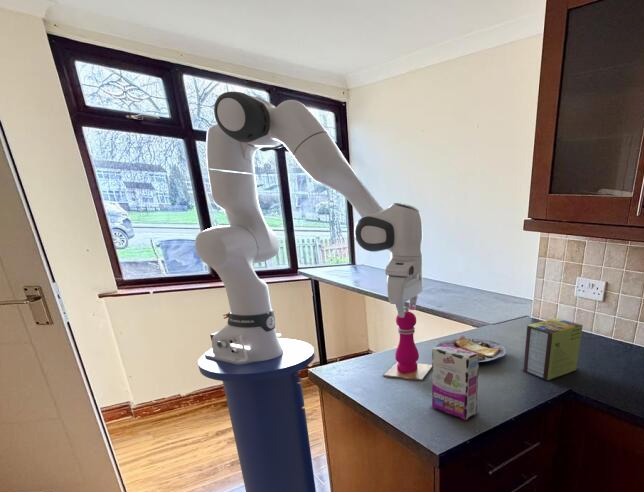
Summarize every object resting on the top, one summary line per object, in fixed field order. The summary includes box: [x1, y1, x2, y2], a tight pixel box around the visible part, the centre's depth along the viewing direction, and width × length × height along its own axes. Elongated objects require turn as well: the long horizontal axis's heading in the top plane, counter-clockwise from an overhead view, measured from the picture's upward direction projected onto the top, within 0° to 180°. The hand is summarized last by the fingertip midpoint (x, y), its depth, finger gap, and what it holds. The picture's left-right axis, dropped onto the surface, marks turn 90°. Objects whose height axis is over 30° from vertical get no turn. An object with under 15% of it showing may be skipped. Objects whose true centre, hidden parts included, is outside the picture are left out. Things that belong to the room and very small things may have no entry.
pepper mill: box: [394, 306, 420, 373], centre depth 123 cm, size 7×7×20 cm
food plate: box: [435, 335, 507, 363], centre depth 142 cm, size 25×23×4 cm
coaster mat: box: [383, 361, 432, 381], centre depth 127 cm, size 12×12×1 cm
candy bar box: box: [431, 344, 480, 421], centre depth 101 cm, size 11×5×16 cm, turn 55°
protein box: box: [522, 317, 584, 381], centre depth 130 cm, size 10×15×16 cm
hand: (407, 313), depth 120 cm, fingers open, 8 cm apart
